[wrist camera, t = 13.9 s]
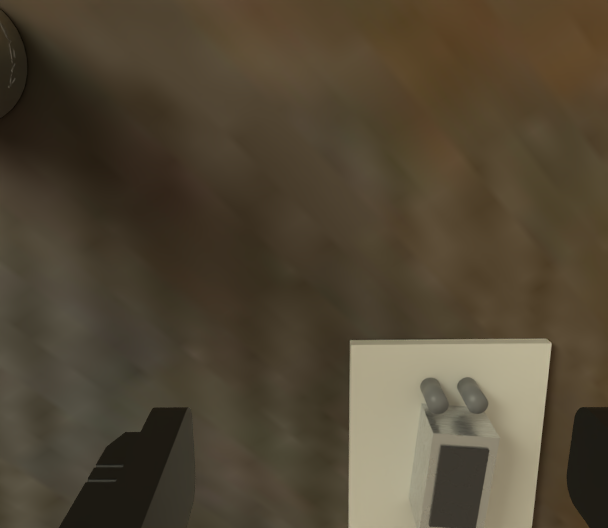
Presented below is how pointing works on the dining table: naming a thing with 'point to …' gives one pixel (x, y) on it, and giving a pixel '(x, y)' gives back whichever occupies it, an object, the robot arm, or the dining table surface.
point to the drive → (452, 468)
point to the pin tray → (401, 419)
